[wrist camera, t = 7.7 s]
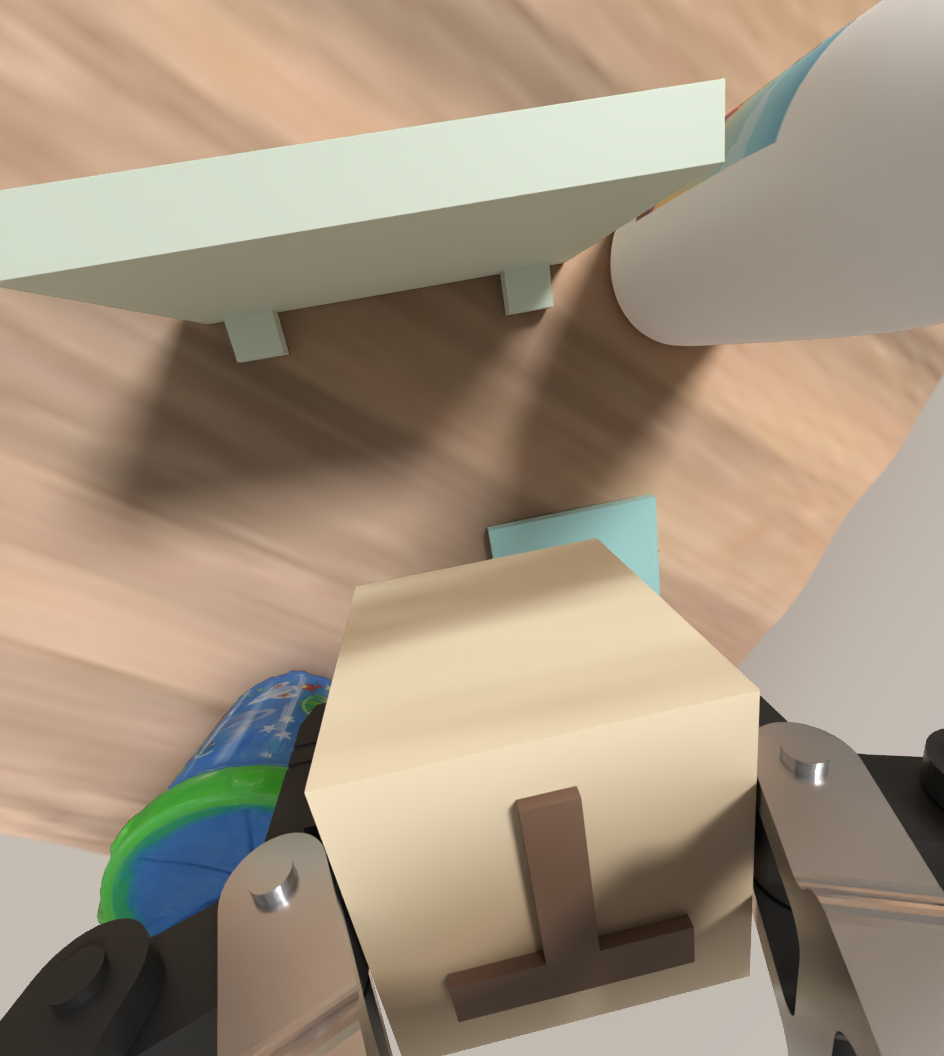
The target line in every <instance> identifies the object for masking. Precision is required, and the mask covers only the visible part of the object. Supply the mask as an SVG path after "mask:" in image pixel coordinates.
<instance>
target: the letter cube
mask: <svg viewBox="0 0 944 1056" xmlns="http://www.w3.org/2000/svg"><path fill="white" fill-rule="evenodd" d="M759 703H760V690H759V689H758V688H757V687H756V686H755V685H754V684H753V683H752V682H751V681H749V680H748V679H747V678H746V677H745V676H744V675H743V674H742V673H741V672H740V671H739V670H738V669H737V668H736V667H735V666H733V665H732V664H731V663H730V662H729V661H728V660H727V659H726V658H725V657H724V656H723V655H722V654H721V653H720V652H718V651H717V650H716V649H715V648H714V647H713V646H712V645H711V644H710V643H709V642H708V641H707V640H706V639H705V638H704V637H702V636H701V635H700V634H699V633H698V632H697V631H696V630H695V629H694V628H693V627H692V626H691V625H690V624H689V623H687V622H686V621H685V620H684V619H683V618H682V617H681V616H680V615H679V614H678V613H677V612H676V611H675V610H674V609H672V608H671V607H670V606H669V605H668V604H667V603H666V602H665V601H664V600H663V599H662V598H661V597H660V596H659V595H657V594H656V593H655V592H654V591H653V590H652V589H651V588H650V587H649V586H648V585H647V584H646V583H645V582H644V581H642V580H641V579H640V578H639V577H638V576H637V575H636V574H635V573H634V572H633V571H632V570H631V569H630V568H629V567H627V566H626V565H625V564H624V563H623V562H622V561H621V560H620V559H619V558H618V557H617V556H616V555H615V554H614V553H612V552H611V551H610V550H609V549H608V548H607V547H606V546H605V545H604V544H603V543H602V542H601V541H600V540H599V539H598V538H594V539H589V540H584V541H579V542H574V543H569V544H564V545H560V546H555V547H550V548H545V549H540V550H535V551H530V552H525V553H520V554H515V555H510V556H505V557H500V558H495V559H490V560H485V561H480V562H475V563H470V564H465V565H461V566H456V567H451V568H446V569H441V570H436V571H431V572H426V573H421V574H416V575H411V576H406V577H401V578H396V579H391V580H386V581H381V582H376V583H371V584H367V585H362V586H357V587H356V588H355V592H354V596H353V600H352V604H351V608H350V612H349V616H348V620H347V624H346V628H345V632H344V636H343V640H342V644H341V648H340V652H339V656H338V660H337V664H336V668H335V672H334V676H333V680H332V684H331V688H330V692H329V696H328V700H327V704H326V708H325V712H324V716H323V720H322V724H321V728H320V732H319V736H318V740H317V744H316V748H315V752H314V756H313V760H312V764H311V768H310V772H309V776H308V780H307V784H306V788H305V792H304V793H305V796H306V799H307V801H308V804H309V807H310V809H311V812H312V815H313V818H314V820H315V823H316V826H317V828H318V831H319V834H320V836H321V839H322V842H323V845H324V847H325V850H326V853H327V855H328V858H329V861H330V863H331V866H332V869H333V872H334V874H335V877H336V880H337V882H338V885H339V888H340V890H341V893H342V896H343V899H344V901H345V904H346V907H347V909H348V912H349V915H350V917H351V920H352V923H353V925H354V928H355V931H356V934H357V936H358V939H359V942H360V944H361V947H362V950H363V952H364V955H365V958H366V961H367V963H368V966H369V969H370V971H371V974H372V977H373V979H374V982H375V985H376V988H377V990H378V993H379V996H380V998H381V1001H382V1004H383V1006H384V1009H385V1011H386V1015H387V1017H388V1020H389V1022H390V1025H391V1028H392V1031H393V1033H394V1036H395V1039H396V1041H397V1044H398V1047H399V1050H400V1052H401V1055H402V1056H442V1055H447V1054H451V1053H454V1052H459V1051H462V1050H466V1049H470V1048H474V1047H478V1046H481V1045H485V1044H489V1043H493V1042H497V1041H501V1040H505V1039H508V1038H512V1037H516V1036H520V1035H524V1034H528V1033H532V1032H536V1031H539V1030H543V1029H547V1028H551V1027H555V1026H559V1025H563V1024H566V1023H570V1022H574V1021H578V1020H581V1019H585V1018H589V1017H593V1016H597V1015H601V1014H605V1013H609V1012H613V1011H616V1010H620V1009H624V1008H628V1007H632V1006H635V1005H639V1004H643V1003H647V1002H651V1001H655V1000H659V999H663V998H666V997H670V996H674V995H678V994H682V993H686V992H690V991H693V990H697V989H701V988H705V987H709V986H713V985H716V984H720V983H724V982H728V981H732V980H735V979H739V978H744V977H747V976H749V975H750V948H751V921H752V920H751V919H752V894H753V867H754V839H755V812H756V785H757V757H758V730H759Z"/></svg>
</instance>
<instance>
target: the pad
mask: <svg viewBox="0 0 944 1056" xmlns="http://www.w3.org/2000/svg"><path fill="white" fill-rule="evenodd" d="M487 530H488V536H489V542H490V548H491V553H492V559H495V558H500V557H505V556H510V555H515V554H520V553H525V552H530V551H535V550H540V549H545V548H550V547H555V546H560V545H564V544H569V543H574V542H579V541H584V540H589V539H594V538H598V539H599V540H600V541H601V542H602V543H603V544H604V545H605V546H606V547H607V548H608V549H609V550H610V551H611V552H612V553H614V554H615V555H616V556H617V557H618V558H619V559H620V560H621V561H622V562H623V563H624V564H625V565H626V566H627V567H629V568H630V569H631V570H632V571H633V572H634V573H635V574H636V575H637V576H638V577H639V578H640V579H641V580H642V581H644V582H645V583H646V584H647V585H648V586H649V587H650V588H651V589H652V590H653V591H654V592H655V593H656V594H657V595H659V596H660V587H659V564H658V541H657V518H656V497H655V496H653V495H651V494H648V495H643V496H638V497H633V498H628V499H623V500H618V501H613V502H608V503H603V504H598V505H593V506H589V507H584V508H579V509H574V510H569V511H564V512H559V513H554V514H549V515H544V516H539V517H534V518H529V519H524V520H519V521H515V522H510V523H505V524H500V525H495V526H490V527H487Z"/></svg>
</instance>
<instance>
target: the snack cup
mask: <svg viewBox="0 0 944 1056" xmlns="http://www.w3.org/2000/svg"><path fill="white" fill-rule="evenodd" d="M331 684H332V681H331V680H329V679H327V678H325V677H321V676H314V675H310V674H308V673H306V672H305V671H291V672H289V673H287V674H284V675H280V676H278V677H270V678H269V679H267V680H265V681H263V682H261V683H259V684H257V685H256V686H254V687H253V688H252V689H250V690H249V691H247V692H246V693H244V694H243V695H242V696H241V697H240V698H239V699H238V700H237V701H236V702H235V703H234V705H233V706H232V707H231V709H230V711H229V712H228V713H227V714H226V715H225V716H224V717H223V718H222V720H221V721H220V722H219V723H218V725H217V726H216V727H215V729H214V730H213V731H212V732H211V734H210V735H209V736H208V738H206V740H205V741H204V742H203V744H202V745H201V746H200V748H199V749H198V751H197V752H196V753H195V755H194V756H193V757H192V758H191V759H190V760H189V761H188V763H187V764H186V766H185V767H184V769H183V770H182V771H181V772H180V773H179V774H178V776H177V777H176V778H175V780H174V781H173V782H172V784H171V785H170V786H169V788H168V790H167V791H166V792H164V793H162V794H161V795H159V796H158V797H157V798H155V799H154V800H153V801H152V802H151V803H150V804H149V805H147V806H146V807H145V808H144V809H143V810H142V811H141V812H140V813H138V814H137V815H135V816H134V817H133V818H132V819H131V820H130V821H129V822H128V823H127V824H126V825H125V826H124V827H123V829H122V830H121V832H120V833H119V834H118V836H117V837H116V839H115V840H114V842H113V843H112V845H111V848H110V852H111V858H110V861H109V863H108V865H107V867H106V869H105V871H104V875H103V879H102V883H101V885H102V886H101V889H100V897H101V900H100V904H99V909H98V915H97V918H98V922H99V923H100V924H103V923H106V922H108V921H112V920H116V919H123V918H129V919H135V920H137V921H139V922H141V923H142V924H143V925H144V926H145V928H146V930H147V931H148V933H149V935H150V936H151V937H153V936H155V935H157V934H159V933H161V932H162V931H164V930H166V929H168V928H170V927H172V926H174V925H176V924H177V923H179V922H181V921H183V920H185V919H187V918H189V917H190V916H192V915H194V914H196V913H198V912H200V911H202V910H204V909H205V908H207V907H209V906H210V905H212V904H214V903H215V902H216V901H218V900H219V899H220V896H221V893H222V890H223V888H224V886H225V884H226V882H227V880H228V878H229V877H230V875H231V874H232V872H233V871H234V870H235V868H236V867H237V866H238V865H239V864H240V863H241V861H242V860H243V859H244V858H245V857H246V856H248V855H249V854H250V853H251V852H252V851H253V850H255V849H256V848H257V847H259V846H260V845H262V844H264V842H265V839H266V835H267V832H268V829H269V826H270V822H271V819H272V816H273V813H274V809H275V806H276V803H277V799H278V796H279V793H280V790H281V786H282V783H283V780H284V777H285V773H286V770H288V764H289V760H290V757H291V754H292V751H294V744H295V741H296V738H297V734H298V731H299V728H300V725H301V724H302V722H303V721H304V720H305V719H306V717H307V716H308V715H309V713H310V712H311V711H312V710H313V708H314V707H315V706H316V705H317V704H322V703H327V700H328V696H329V692H330V688H331Z"/></svg>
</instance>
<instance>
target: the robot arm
mask: <svg viewBox="0 0 944 1056" xmlns="http://www.w3.org/2000/svg"><path fill="white" fill-rule="evenodd" d="M326 704H327V703H322V704H317V705H316V706H315V707H314V708H313V710H312V711H311V712H310V713H309V715H308V716H307V717H306V719H305V720H304V721H303V722H302V724H301V725H300V728H299V731H298V734H297V738H296V741H295V744H294V751H292V754H291V757H290V760H289V764H288V770H286V773H285V777H284V780H283V783H282V786H281V790H280V793H279V796H278V799H277V803H276V806H275V809H274V813H273V816H272V819H271V822H270V826H269V829H268V832H267V835H266V839H265V842H264V844H262V845H260V846H259V847H257V848H256V849H255V850H253V851H252V852H251V853H250V854H249V855H248V856H246V857H245V858H244V859H243V860H242V861H241V863H240V864H239V865H238V866H237V867H236V868H235V870H234V871H233V872H232V874H231V875H230V877H229V878H228V880H227V882H226V884H225V886H224V888H223V890H222V893H221V896H220V899H219V900H218V901H216V902H215V903H214V904H212V905H210V906H209V907H207V908H205V909H204V910H202V911H200V912H198V913H196V914H194V915H192V916H190V917H189V918H187V919H185V920H183V921H181V922H179V923H177V924H176V925H174V926H172V927H170V928H168V929H166V930H164V931H162V932H161V933H159V934H157V935H155V936H153V937H151V936H150V935H149V933H148V931H147V930H146V928H145V926H144V925H143V924H142V923H141V922H139V921H137V920H135V919H129V918H123V919H116V920H112V921H108V922H106V923H103V924H101V925H98V926H96V927H95V928H93V929H91V930H89V931H87V932H85V933H84V934H82V935H81V936H79V937H78V938H76V939H75V940H74V941H72V942H71V943H70V944H68V945H67V946H66V947H64V948H63V949H62V950H61V951H60V952H59V953H58V954H56V955H55V956H54V957H53V958H52V959H51V960H50V961H49V962H48V963H47V964H46V965H45V966H44V967H43V968H42V970H41V971H40V972H39V973H38V974H37V975H36V976H35V978H34V979H33V980H32V981H31V983H30V984H29V985H28V986H27V988H26V989H25V990H24V992H23V993H22V994H21V995H20V997H19V998H18V999H17V1000H16V1002H15V1003H14V1004H13V1006H12V1007H11V1008H10V1009H9V1011H8V1012H7V1013H6V1015H5V1016H4V1017H3V1018H2V1019H1V1021H0V1056H392V1051H391V1048H390V1044H389V1040H388V1036H387V1033H386V1029H385V1025H384V1021H383V1017H382V1014H381V1010H380V1006H379V1002H378V999H377V995H376V991H375V987H374V984H373V980H372V976H371V974H370V971H369V966H368V963H367V961H366V958H365V955H364V952H363V950H362V947H361V944H360V942H359V939H358V936H357V934H356V931H355V928H354V925H353V923H352V920H351V917H350V915H349V912H348V909H347V907H346V904H345V901H344V899H343V896H342V893H341V890H340V888H339V885H338V882H337V880H336V877H335V874H334V872H333V869H332V866H331V863H330V861H329V858H328V855H327V853H326V850H325V847H324V845H323V842H322V839H321V836H320V834H319V831H318V828H317V826H316V823H315V820H314V818H313V815H312V812H311V809H310V807H309V804H308V801H307V799H306V796H305V793H304V792H305V788H306V784H307V780H308V776H309V772H310V768H311V764H312V760H313V756H314V752H315V748H316V744H317V740H318V736H319V732H320V728H321V724H322V720H323V716H324V712H325V708H326ZM752 912H753V915H754V919H755V923H756V926H757V930H758V934H759V937H760V941H761V945H762V949H763V953H764V956H765V960H766V963H767V967H768V971H769V975H770V978H771V982H772V986H773V990H774V993H775V997H776V1001H777V1004H778V1008H779V1012H780V1016H781V1019H782V1023H783V1027H784V1032H785V1037H786V1042H787V1048H788V1055H789V1056H944V729H940V730H938V731H935V732H933V733H932V734H931V735H930V736H929V737H928V738H927V740H926V745H925V750H924V755H923V757H911V756H909V757H908V756H888V755H887V756H886V755H866V754H857V753H856V752H855V751H854V750H853V749H852V748H851V747H850V746H848V745H847V744H846V743H845V742H843V741H842V740H840V739H839V738H837V737H836V736H834V735H832V734H830V733H828V732H826V731H823V730H821V729H818V728H816V727H813V726H809V725H805V724H800V723H793V722H787V721H786V720H785V719H784V718H783V717H782V716H781V715H780V714H779V713H778V712H777V711H776V710H775V709H774V708H773V707H772V706H771V705H770V704H769V703H767V702H766V701H765V700H764V699H763V698H762V697H761V696H760V703H759V730H758V757H757V785H756V812H755V839H754V867H753V894H752Z"/></svg>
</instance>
